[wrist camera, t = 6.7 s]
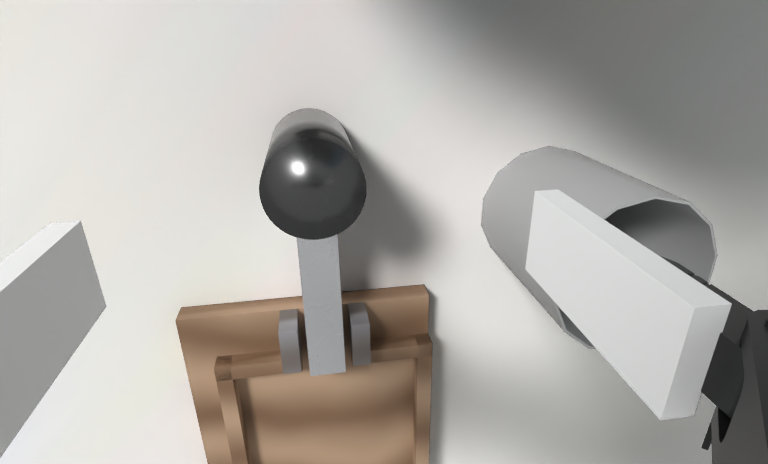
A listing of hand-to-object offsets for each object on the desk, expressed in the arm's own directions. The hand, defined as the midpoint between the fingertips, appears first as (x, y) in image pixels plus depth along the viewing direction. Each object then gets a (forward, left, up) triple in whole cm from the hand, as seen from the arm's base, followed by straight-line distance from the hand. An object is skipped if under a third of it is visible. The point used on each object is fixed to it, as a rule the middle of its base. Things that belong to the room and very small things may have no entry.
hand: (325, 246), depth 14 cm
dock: (+19, -1, -15) cm, 24 cm away
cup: (+5, +15, -15) cm, 22 cm away
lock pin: (+6, 0, -14) cm, 15 cm away
